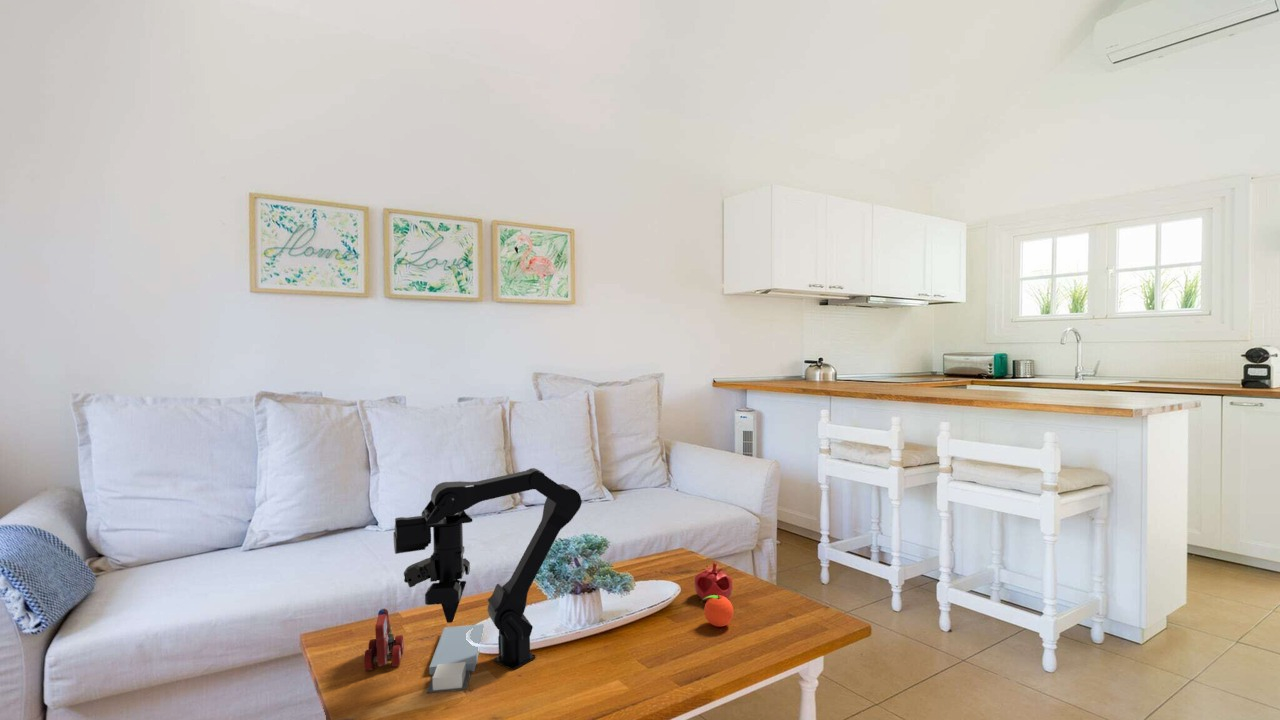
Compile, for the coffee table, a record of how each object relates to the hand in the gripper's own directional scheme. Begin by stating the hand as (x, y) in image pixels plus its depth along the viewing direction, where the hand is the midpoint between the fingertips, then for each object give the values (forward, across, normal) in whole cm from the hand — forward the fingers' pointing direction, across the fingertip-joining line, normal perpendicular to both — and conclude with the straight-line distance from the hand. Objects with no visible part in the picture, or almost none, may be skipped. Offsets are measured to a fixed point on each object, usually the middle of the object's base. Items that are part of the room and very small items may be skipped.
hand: (450, 621), depth 129 cm
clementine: (+11, -12, +59) cm, 62 cm away
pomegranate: (+11, -29, +63) cm, 70 cm away
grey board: (+11, -10, 0) cm, 15 cm away
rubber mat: (+11, +3, 0) cm, 11 cm away
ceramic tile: (+11, +3, 0) cm, 11 cm away
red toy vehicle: (+11, -9, -15) cm, 21 cm away
